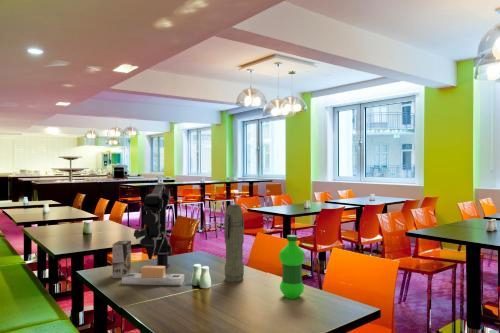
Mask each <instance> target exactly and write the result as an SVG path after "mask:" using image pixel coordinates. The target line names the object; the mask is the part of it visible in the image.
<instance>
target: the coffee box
mask: <svg viewBox="0 0 500 333" xmlns="http://www.w3.org/2000/svg"><path fill="white" fill-rule="evenodd" d="M111 267H112V268H111V269H112V270H111V271H112V276H111V277H112V278H113V279H122V277H123V276H124V275H125V274H127V273H132V241H131V240H118V241H117V242H114V243H113V244H112V266H111Z"/></svg>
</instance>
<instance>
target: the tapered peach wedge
mask: <svg viewBox="0 0 500 333" xmlns="http://www.w3.org/2000/svg"><path fill="white" fill-rule="evenodd" d="M140 269H141V270H140V272H141V277H164V276H165V275H166V274H167V273H166V272H167V271H166V270H167V268H166V266H156V265H143V266H142V267H141V268H140Z"/></svg>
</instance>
